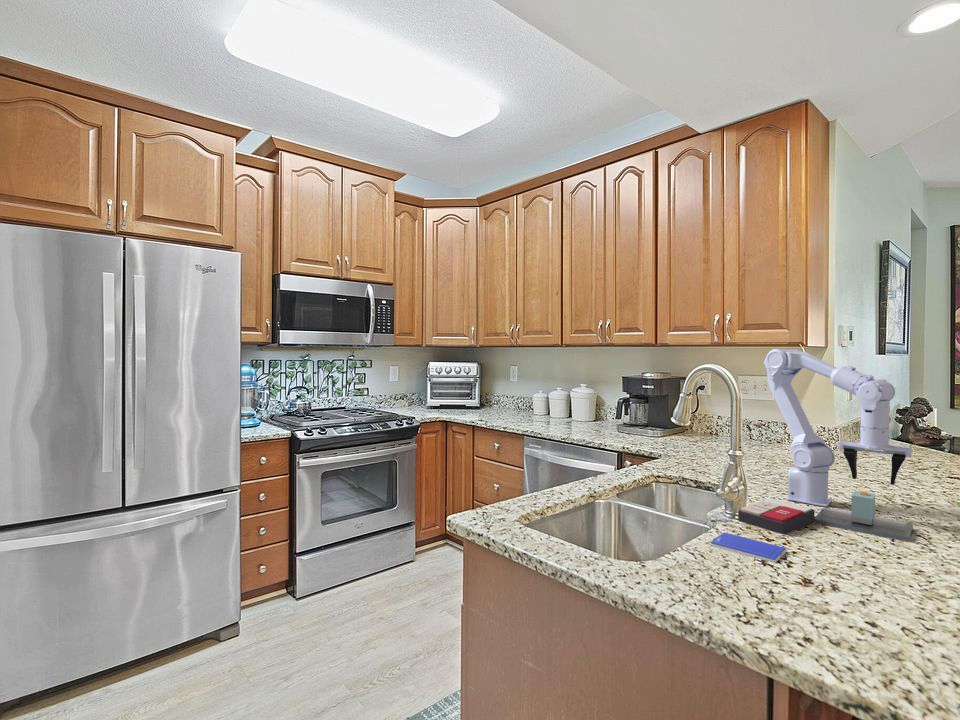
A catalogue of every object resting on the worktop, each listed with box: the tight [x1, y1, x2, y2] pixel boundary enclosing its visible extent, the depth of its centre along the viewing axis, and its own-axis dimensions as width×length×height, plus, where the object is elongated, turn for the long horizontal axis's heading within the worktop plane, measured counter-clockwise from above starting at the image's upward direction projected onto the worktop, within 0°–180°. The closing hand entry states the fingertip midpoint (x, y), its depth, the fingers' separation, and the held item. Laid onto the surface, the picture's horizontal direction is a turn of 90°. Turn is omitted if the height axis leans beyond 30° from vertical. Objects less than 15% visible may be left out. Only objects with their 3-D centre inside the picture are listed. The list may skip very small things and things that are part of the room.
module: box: [850, 489, 876, 525], centre depth 124 cm, size 4×6×7 cm, turn 137°
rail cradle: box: [814, 506, 914, 543], centre depth 124 cm, size 18×12×2 cm, turn 47°
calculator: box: [737, 498, 816, 535], centre depth 126 cm, size 11×4×15 cm
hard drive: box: [710, 531, 787, 564], centre depth 108 cm, size 2×8×12 cm
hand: (873, 481), depth 129 cm, fingers open, 7 cm apart
